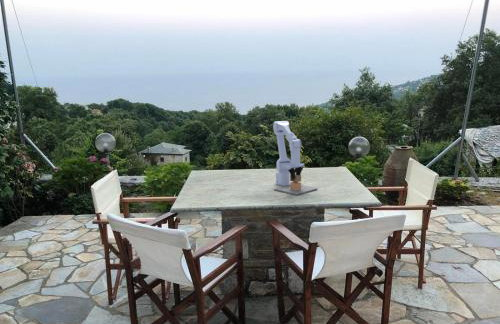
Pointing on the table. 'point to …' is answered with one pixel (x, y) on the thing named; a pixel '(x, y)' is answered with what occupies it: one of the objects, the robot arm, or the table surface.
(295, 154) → the robot arm
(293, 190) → the tower board
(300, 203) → the table surface
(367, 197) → the table surface
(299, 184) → the brick terracotta
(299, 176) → the brick walnut
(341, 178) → the table surface
